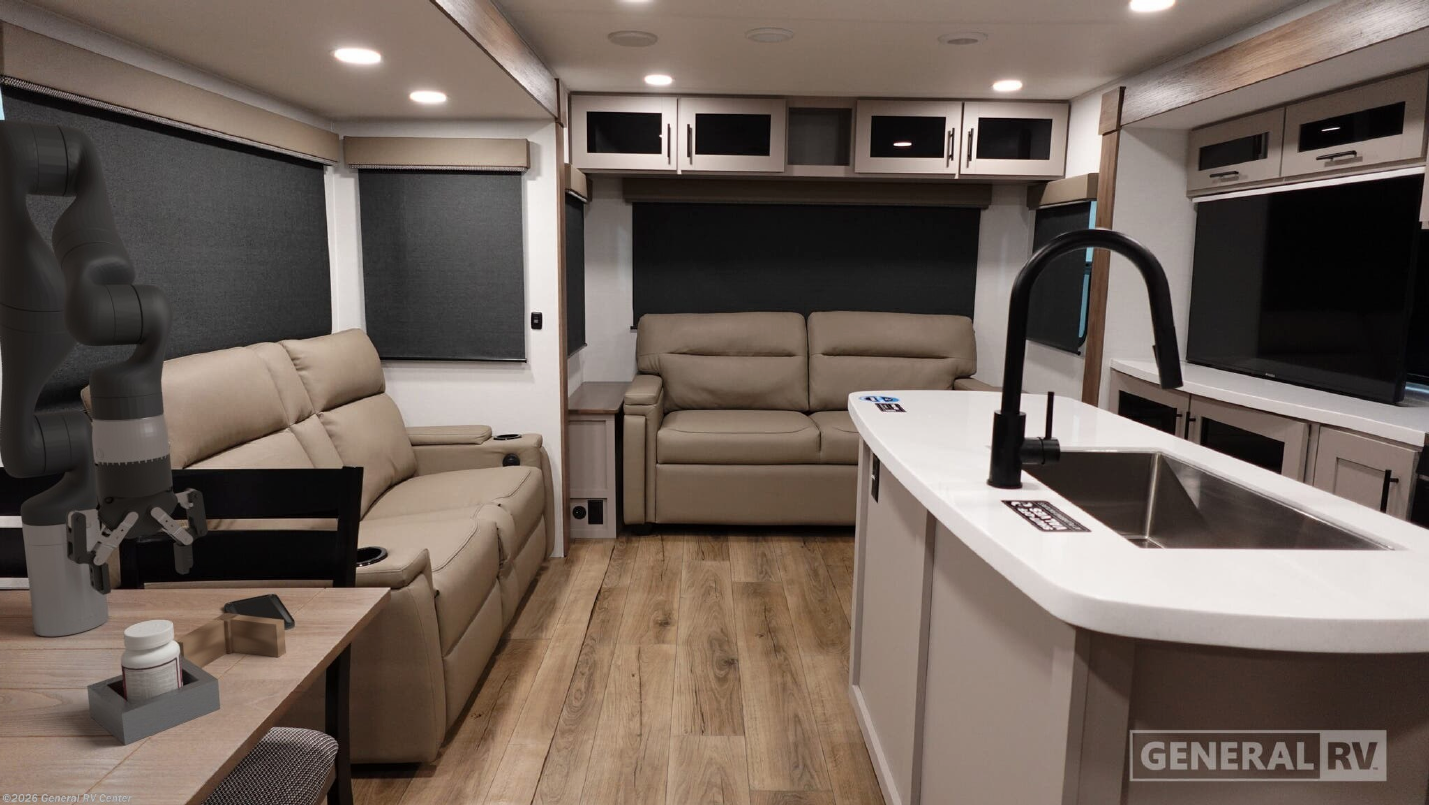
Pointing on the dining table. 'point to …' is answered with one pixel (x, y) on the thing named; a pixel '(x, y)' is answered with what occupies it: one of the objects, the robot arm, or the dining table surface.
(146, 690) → the pill bottle
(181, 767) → the dining table surface
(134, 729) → the bore block
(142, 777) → the dining table surface
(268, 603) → the phone
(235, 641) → the v block
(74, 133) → the robot arm
